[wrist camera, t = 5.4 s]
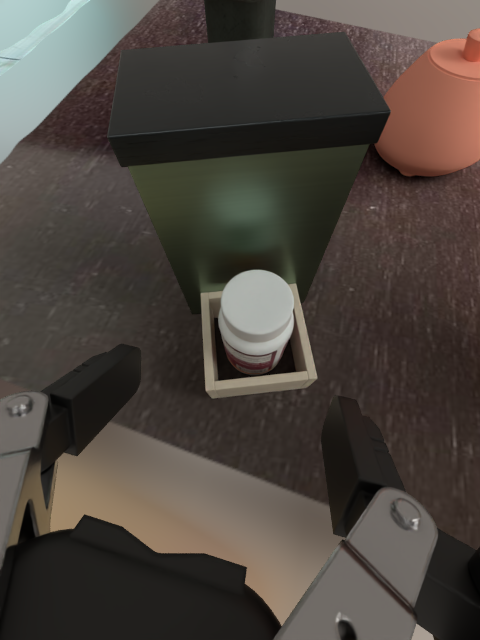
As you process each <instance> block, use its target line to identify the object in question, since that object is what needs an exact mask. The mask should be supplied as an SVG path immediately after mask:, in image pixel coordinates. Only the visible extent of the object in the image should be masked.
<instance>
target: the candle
mask: <svg viewBox="0 0 480 640" xmlns="http://www.w3.org/2000/svg"><path fill="white" fill-rule="evenodd" d="M204 4H205V14H206V24H207V35H208V43H215V42H227V41H240V40H252V39H264V38H273V36H274V20H275V5H276V0H204Z"/></svg>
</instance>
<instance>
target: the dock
mask: <svg viewBox="0 0 480 640" xmlns="http://www.w3.org/2000/svg"><path fill="white" fill-rule="evenodd" d="M288 286H289V287H290V289H291V291H292V294H293V297H294V308H293V316H294V326H293V331H292V334H291V336H290V343H291V348H292V354H293V359H294V364H295V369H296V372H292V373H283V374H274V375H266V376H257V377H248V378H239V379H230V380H221V381H218V368H217V355H216V341H215V327H214V318H218V316H219V312H220V308H221V296H222V292H223V291H217V292H209V293H208V292H207V293H201V312H202V332H203V351H204V370H205V390H206V392H207V393H208V394H209V395H210V397H211V398H212V399H213V398H219V397H220V398H222V397H230V396H239V395H248V394H257V393H266V392H275V391H284V390H292V389H299V388H300V389H301V388H307V387H308V386H309V385H310V384H312V383H313V382H314V381H315V380H316V379H317V374H316V369H315V365H314V360H313V356H312V352H311V347H310V343H309V338H308V334H307V330H306V325H305V321H304V316H303V312H302V308H301V303H300V299H299V294H298V290H297V286H296V283H294V284H289V285H288Z"/></svg>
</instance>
